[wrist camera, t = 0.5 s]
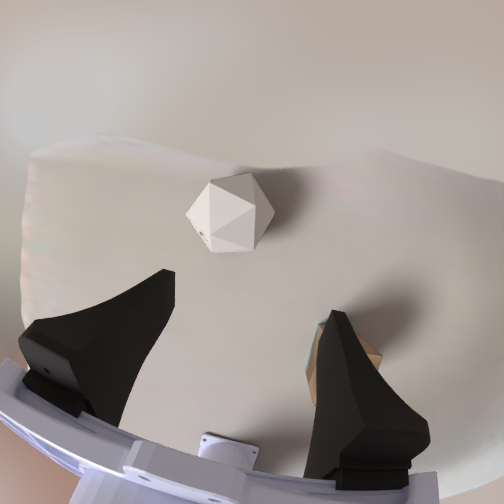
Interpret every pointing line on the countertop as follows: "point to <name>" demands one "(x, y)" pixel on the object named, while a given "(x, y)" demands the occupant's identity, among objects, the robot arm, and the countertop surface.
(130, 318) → the robot arm
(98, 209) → the countertop surface
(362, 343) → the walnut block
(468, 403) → the countertop surface
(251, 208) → the die
